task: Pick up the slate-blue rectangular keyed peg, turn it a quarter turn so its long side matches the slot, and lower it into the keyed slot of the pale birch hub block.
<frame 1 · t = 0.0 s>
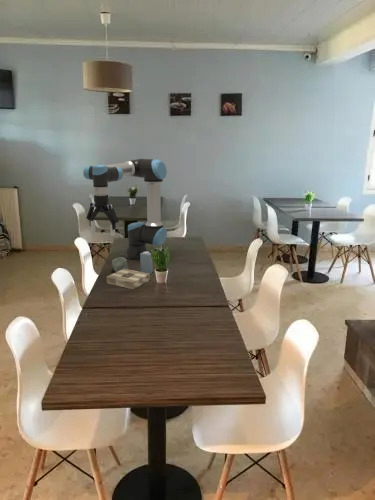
hand: (103, 233, 226), 28 cm above the table, fingers open, 13 cm apart
hub block: (128, 281, 235), on the table
keyed peg: (146, 272, 250), on the table
decorative stone: (120, 271, 253), on the table
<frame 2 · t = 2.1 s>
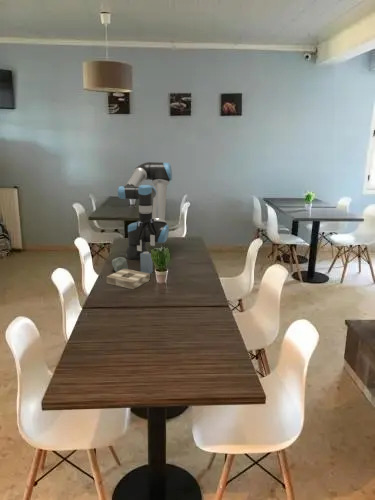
hand: (146, 248, 245), 15 cm above the table, fingers open, 13 cm apart
nothing on the table moved.
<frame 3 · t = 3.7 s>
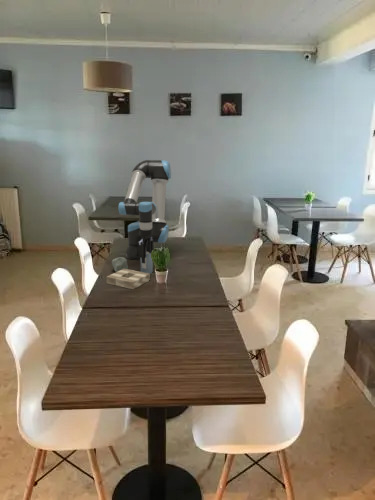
hand: (146, 266, 249), 4 cm above the table, fingers closed on keyed peg, 4 cm apart
keyed peg: (146, 272, 250), on the table, touching gripper
everything else where it was.
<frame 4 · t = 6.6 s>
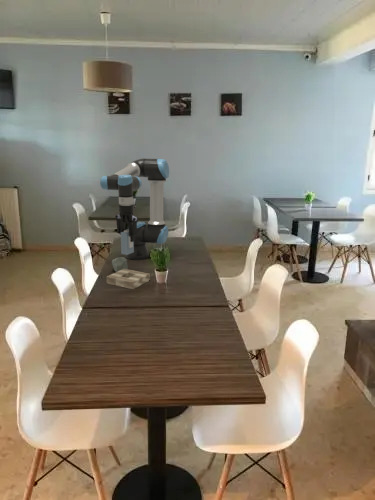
hand: (127, 246, 229), 21 cm above the table, fingers closed on keyed peg, 4 cm apart
keyed peg: (127, 253, 230), point 17 cm above the table, touching gripper
everything else where it was.
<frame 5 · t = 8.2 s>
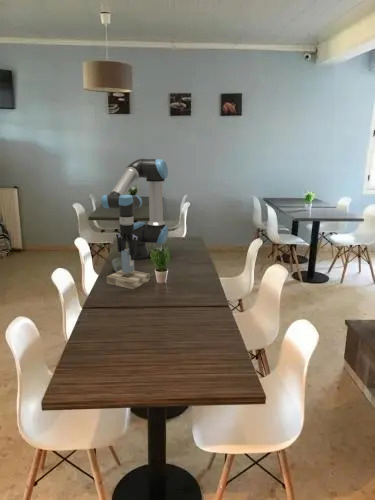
hand: (127, 264, 232), 10 cm above the table, fingers closed on keyed peg, 4 cm apart
keyed peg: (128, 271, 233), point 6 cm above the table, touching gripper
everything else where it was.
when the fingers open (6 cm above the table, at t = 9.3 s): keyed peg drops 2 cm, resting in hub block.
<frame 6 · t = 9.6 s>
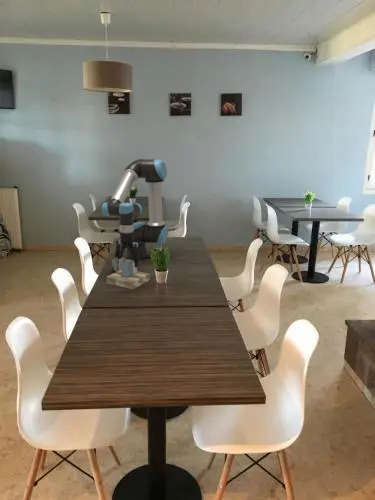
hand: (128, 271, 233), 6 cm above the table, fingers open, 9 cm apart
keyed peg: (128, 281, 235), resting in hub block
everything else where it was.
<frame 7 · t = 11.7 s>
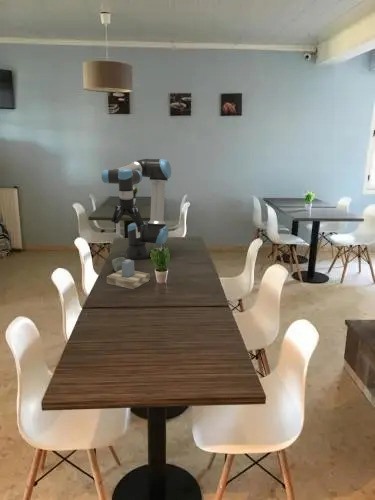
hand: (128, 236, 232), 25 cm above the table, fingers open, 13 cm apart
nothing on the table moved.
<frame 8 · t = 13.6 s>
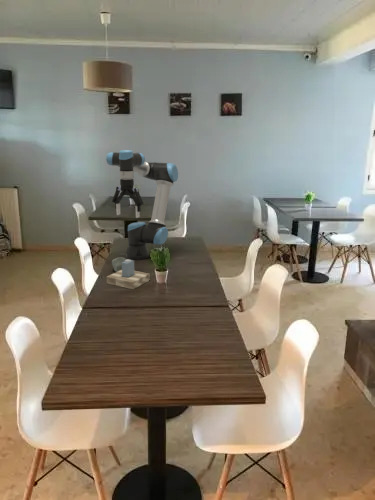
hand: (128, 216, 239), 35 cm above the table, fingers open, 13 cm apart
nothing on the table moved.
at the end: keyed peg 0.0 cm off-centre on the hub block, point 0.0 cm above the hub block's base; keyed peg tilted 0°; the gripper is holding nothing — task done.
